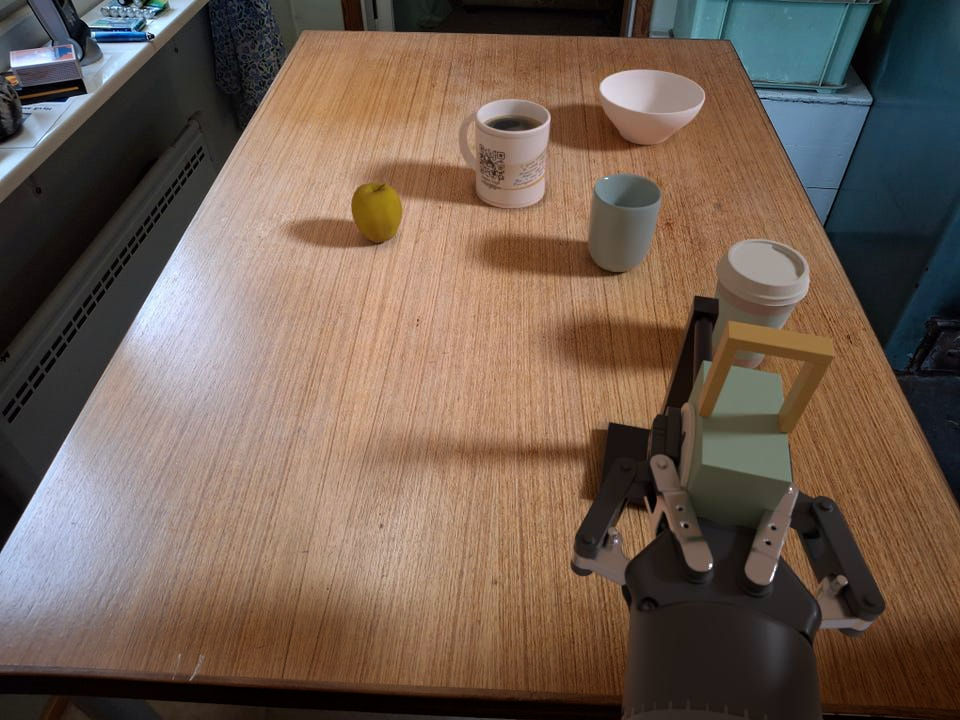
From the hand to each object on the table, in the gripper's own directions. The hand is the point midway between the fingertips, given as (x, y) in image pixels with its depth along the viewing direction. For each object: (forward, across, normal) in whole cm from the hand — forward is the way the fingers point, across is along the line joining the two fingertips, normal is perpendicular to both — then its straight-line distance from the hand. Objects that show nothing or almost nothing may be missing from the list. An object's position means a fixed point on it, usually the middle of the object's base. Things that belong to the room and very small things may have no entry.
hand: (716, 426), depth 37 cm
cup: (+44, +7, +21) cm, 49 cm away
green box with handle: (-3, 0, +6) cm, 7 cm away
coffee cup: (+31, -7, +21) cm, 38 cm away
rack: (+9, 0, +21) cm, 23 cm away
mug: (+58, +24, +21) cm, 66 cm away
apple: (+42, +37, +21) cm, 60 cm away
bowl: (+79, +6, +21) cm, 81 cm away
